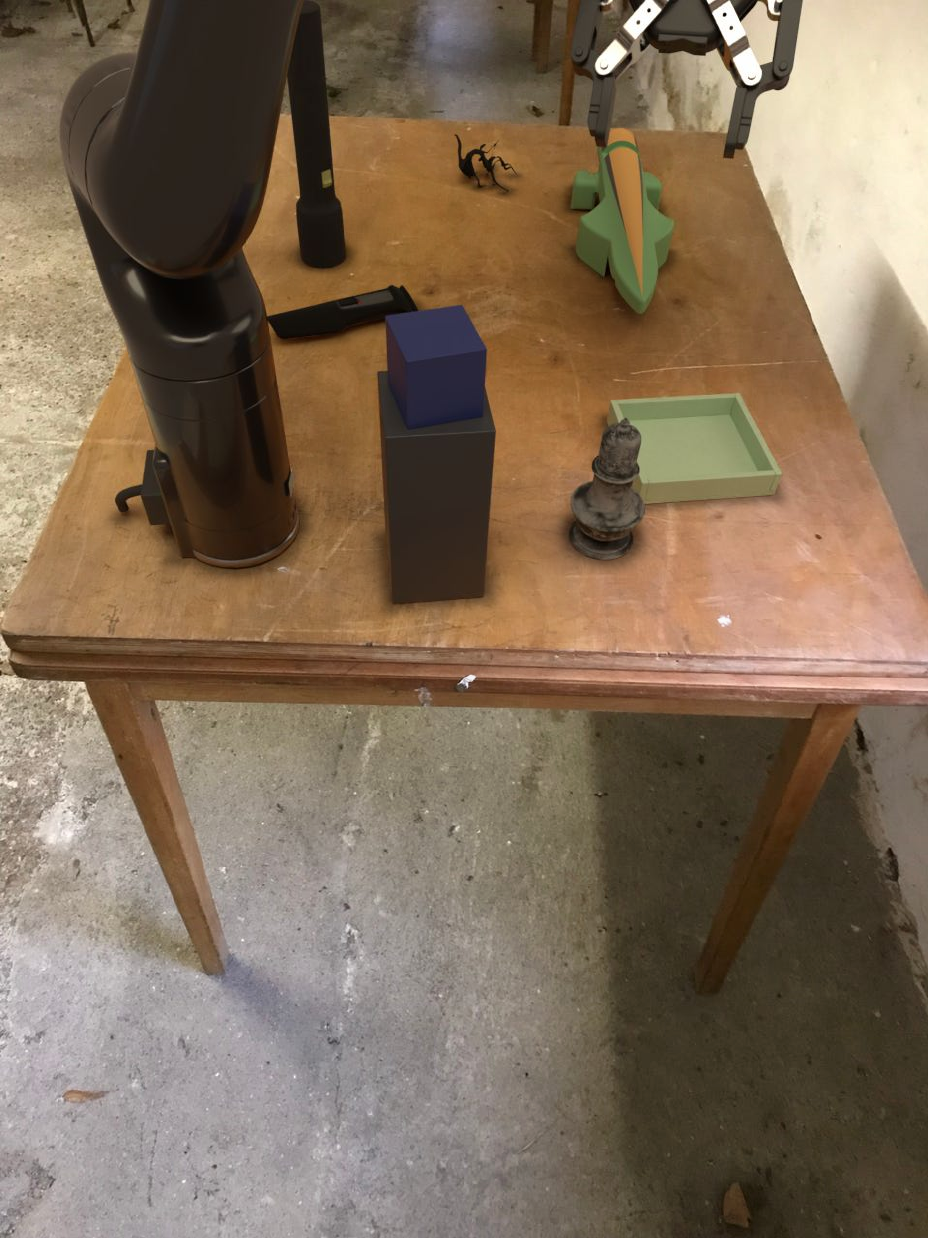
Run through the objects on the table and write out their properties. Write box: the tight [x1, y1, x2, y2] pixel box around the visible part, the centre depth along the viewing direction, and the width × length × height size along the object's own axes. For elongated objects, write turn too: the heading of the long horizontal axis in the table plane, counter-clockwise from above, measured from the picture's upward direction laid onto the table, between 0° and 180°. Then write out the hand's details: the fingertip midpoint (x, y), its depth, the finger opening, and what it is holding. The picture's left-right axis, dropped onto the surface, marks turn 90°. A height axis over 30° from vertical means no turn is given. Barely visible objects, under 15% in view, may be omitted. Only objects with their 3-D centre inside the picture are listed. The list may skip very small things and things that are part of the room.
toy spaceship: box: [570, 127, 675, 315], centre depth 99 cm, size 32×10×7 cm, turn 179°
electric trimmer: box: [267, 284, 419, 340], centre depth 90 cm, size 4×16×3 cm, turn 115°
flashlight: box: [286, 0, 347, 269], centre depth 91 cm, size 5×24×5 cm
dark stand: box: [376, 370, 497, 605], centre depth 64 cm, size 7×7×16 cm
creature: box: [454, 134, 517, 192], centre depth 111 cm, size 8×5×8 cm
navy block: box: [384, 304, 488, 430], centre depth 56 cm, size 5×5×5 cm
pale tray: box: [606, 392, 783, 505], centre depth 79 cm, size 12×11×2 cm
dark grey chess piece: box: [568, 418, 646, 561], centre depth 69 cm, size 6×6×12 cm
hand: (664, 149), depth 60 cm, fingers open, 8 cm apart
